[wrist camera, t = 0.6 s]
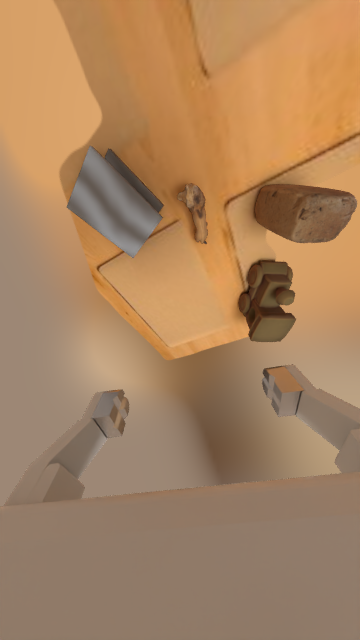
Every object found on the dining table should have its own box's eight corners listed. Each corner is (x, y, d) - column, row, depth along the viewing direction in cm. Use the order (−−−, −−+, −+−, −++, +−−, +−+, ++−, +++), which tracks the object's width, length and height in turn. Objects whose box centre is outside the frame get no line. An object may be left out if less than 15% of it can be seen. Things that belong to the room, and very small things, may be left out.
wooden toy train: (262, 309, 64) (283, 342, 51) (234, 308, 63) (248, 341, 51) (288, 259, 50) (324, 287, 38) (251, 257, 50) (276, 286, 37)
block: (248, 220, 43) (286, 246, 28) (258, 182, 38) (310, 191, 23) (289, 220, 43) (347, 246, 28) (304, 183, 38) (385, 192, 23)
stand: (106, 144, 33) (92, 139, 28) (166, 208, 41) (165, 214, 35) (80, 205, 40) (65, 211, 34) (136, 250, 47) (130, 261, 42)
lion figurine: (174, 189, 38) (174, 193, 32) (195, 175, 37) (200, 177, 30) (197, 247, 47) (201, 259, 41) (215, 238, 46) (222, 250, 39)
